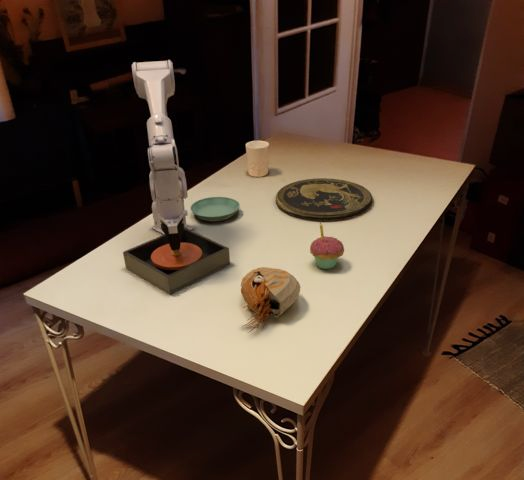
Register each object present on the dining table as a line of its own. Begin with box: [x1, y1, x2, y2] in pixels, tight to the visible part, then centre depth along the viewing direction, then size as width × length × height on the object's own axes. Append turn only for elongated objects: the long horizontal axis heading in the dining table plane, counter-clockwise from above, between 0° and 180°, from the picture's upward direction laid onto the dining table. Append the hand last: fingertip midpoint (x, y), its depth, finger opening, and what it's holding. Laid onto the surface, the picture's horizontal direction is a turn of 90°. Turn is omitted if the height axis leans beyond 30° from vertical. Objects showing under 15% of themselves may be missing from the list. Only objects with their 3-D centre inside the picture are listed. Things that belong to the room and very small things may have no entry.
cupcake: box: [309, 221, 345, 270], centre depth 141 cm, size 9×8×12 cm
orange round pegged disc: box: [151, 243, 202, 270], centre depth 142 cm, size 13×13×7 cm
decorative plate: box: [275, 177, 374, 221], centre depth 175 cm, size 30×2×30 cm
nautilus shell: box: [240, 266, 301, 334], centre depth 126 cm, size 8×22×15 cm
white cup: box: [245, 140, 270, 178], centre depth 192 cm, size 8×8×10 cm
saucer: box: [189, 196, 241, 223], centre depth 169 cm, size 15×15×3 cm
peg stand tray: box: [122, 227, 231, 295], centre depth 144 cm, size 19×20×5 cm
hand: (175, 247), depth 142 cm, fingers closed on orange round pegged disc
